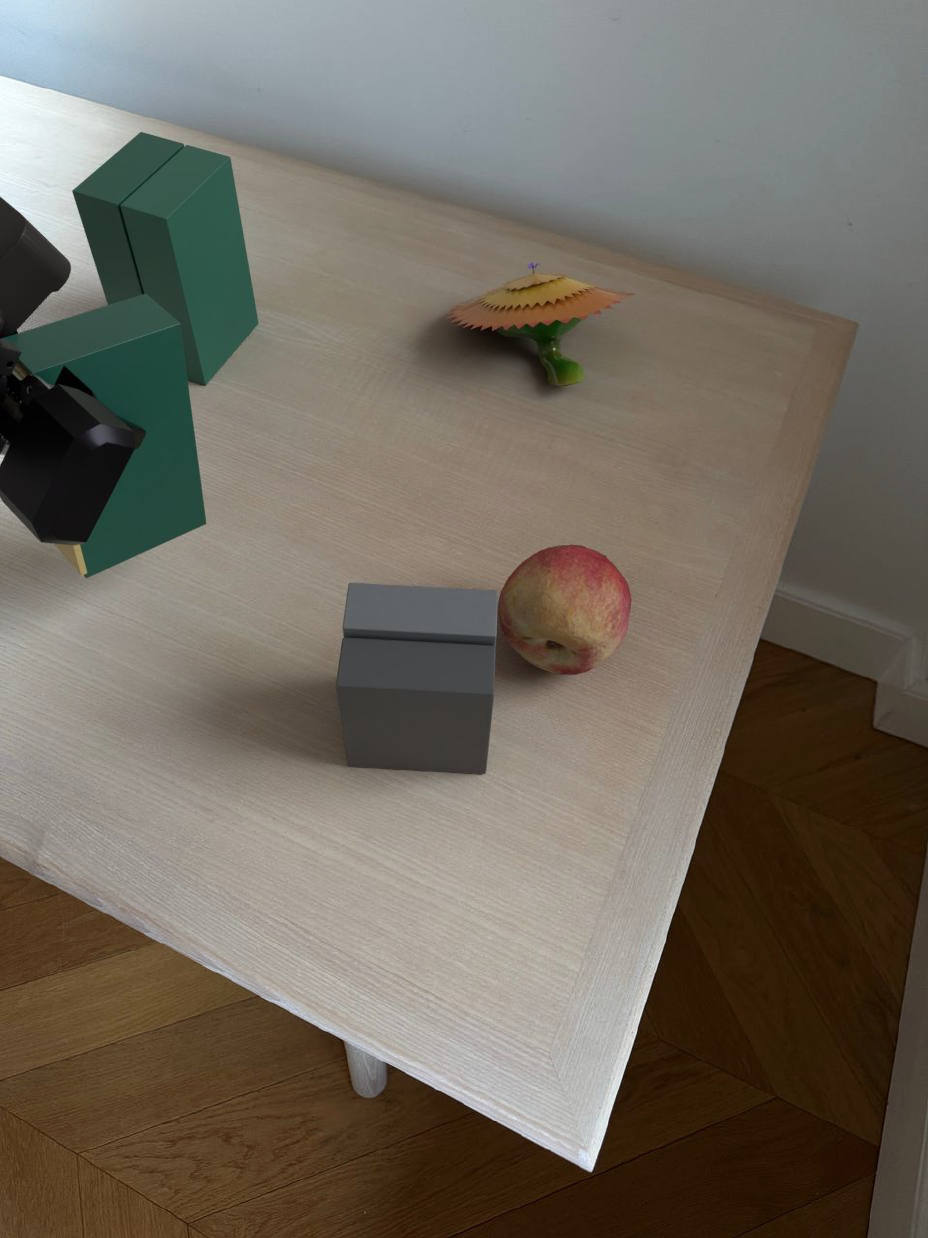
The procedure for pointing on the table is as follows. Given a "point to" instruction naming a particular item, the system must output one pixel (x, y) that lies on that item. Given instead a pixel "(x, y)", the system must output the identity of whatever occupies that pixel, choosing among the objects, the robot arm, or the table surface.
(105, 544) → the green book
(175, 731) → the table surface
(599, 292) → the flower
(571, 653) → the fruit
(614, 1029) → the table surface
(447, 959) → the table surface
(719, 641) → the table surface
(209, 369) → the green grooved box
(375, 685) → the grey grooved block
